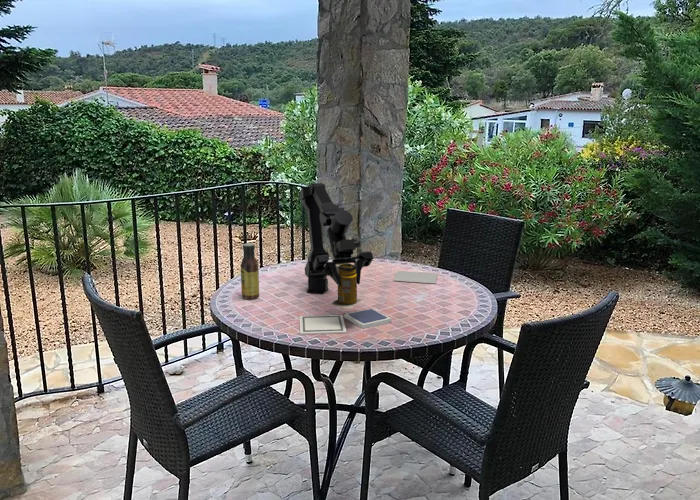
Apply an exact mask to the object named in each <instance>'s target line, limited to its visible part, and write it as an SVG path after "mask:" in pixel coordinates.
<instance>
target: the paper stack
mask: <svg viewBox="0 0 700 500" xmlns="http://www.w3.org/2000/svg"><path fill="white" fill-rule="evenodd" d="M437 278H438V273H436V272H434V273H433V272H423V271H422V272H419V271H404V270H397V272H396V274H395V276H394V278H393V281H394V282H408V283H409V282H410V283H422V284H423V283H424V284H437V280H438V279H437Z"/></svg>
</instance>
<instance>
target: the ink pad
mask: <svg viewBox="0 0 700 500" xmlns="http://www.w3.org/2000/svg"><path fill="white" fill-rule="evenodd" d="M343 319H345V320H348V321H349V322H350V323H352V324H353V325H354V324H355V326H357V327H359V328H360V329H363V330H364V329H368V328H372V327H376V326H380V325H384V324H389V323H392V318H391V317H389V316H387V315H386V314H384V313H382V312H380V311H378V310H377V309H375V308H368V309H367V308H366V309H362V310H358V311H353V312H352V311H351V312H348V313H344V316H343Z"/></svg>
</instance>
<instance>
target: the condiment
mask: <svg viewBox="0 0 700 500" xmlns="http://www.w3.org/2000/svg"><path fill="white" fill-rule="evenodd" d="M355 268H356V267H355V265H354V263H350V264H342V265H340V266H339V274H338V276H339V279H340V283H341V285H340V286H338V285H337V299H336V300H334V301H332V302H331V303H329V306H334V307H339V308H345V309H352V308H353V307H354V306H355V305H357V304H359V303H360V302H361V301H362V299H359V298H358V294H357V293H358V284H357V274H356V273H355V272H356V270H355Z"/></svg>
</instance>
